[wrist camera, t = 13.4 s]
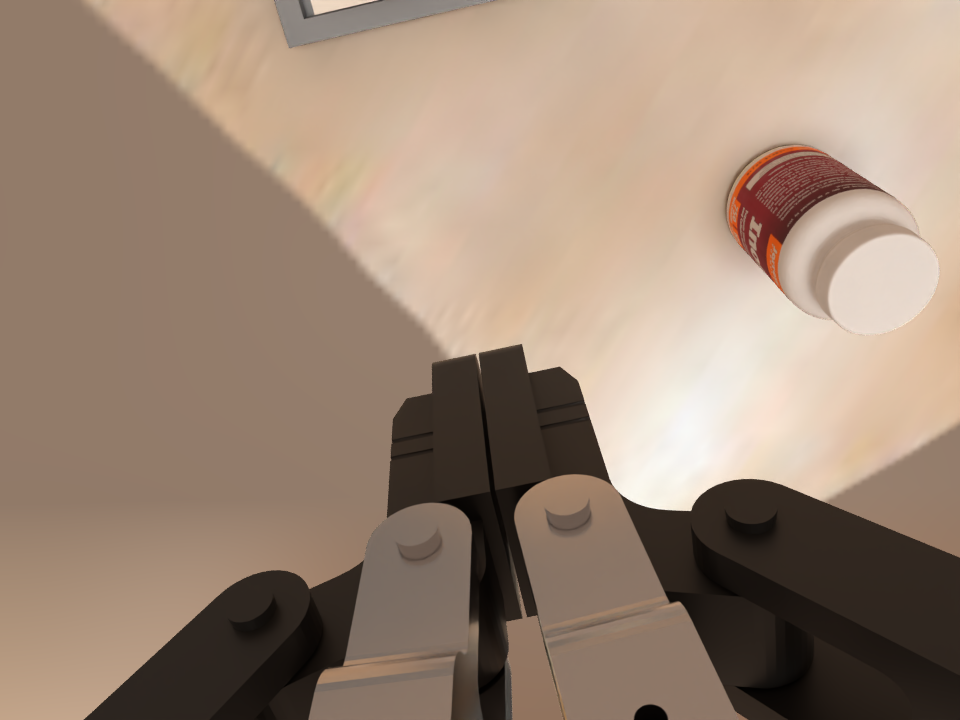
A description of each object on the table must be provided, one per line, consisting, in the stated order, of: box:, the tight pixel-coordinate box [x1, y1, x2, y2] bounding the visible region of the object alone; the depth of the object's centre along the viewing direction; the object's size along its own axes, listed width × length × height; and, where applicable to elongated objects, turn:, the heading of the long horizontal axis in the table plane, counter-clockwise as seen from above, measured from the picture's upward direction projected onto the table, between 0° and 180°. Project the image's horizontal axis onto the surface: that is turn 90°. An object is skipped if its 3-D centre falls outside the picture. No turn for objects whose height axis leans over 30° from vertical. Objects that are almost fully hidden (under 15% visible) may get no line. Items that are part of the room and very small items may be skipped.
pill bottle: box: [727, 145, 940, 335], centre depth 38 cm, size 6×6×11 cm
